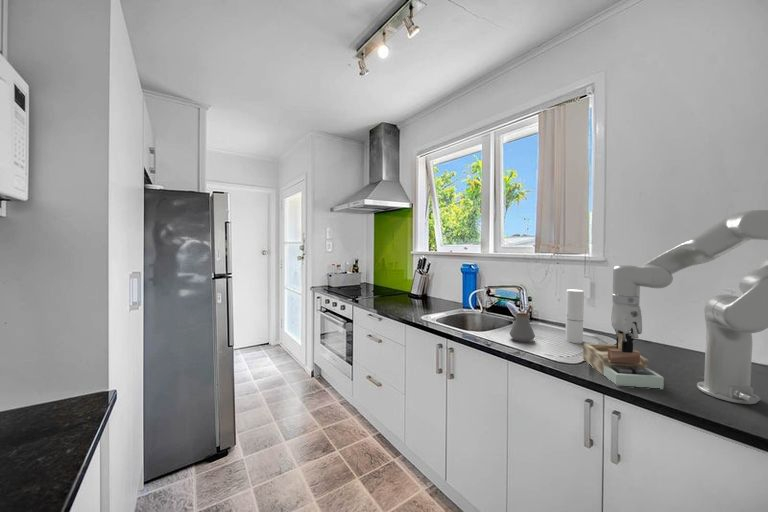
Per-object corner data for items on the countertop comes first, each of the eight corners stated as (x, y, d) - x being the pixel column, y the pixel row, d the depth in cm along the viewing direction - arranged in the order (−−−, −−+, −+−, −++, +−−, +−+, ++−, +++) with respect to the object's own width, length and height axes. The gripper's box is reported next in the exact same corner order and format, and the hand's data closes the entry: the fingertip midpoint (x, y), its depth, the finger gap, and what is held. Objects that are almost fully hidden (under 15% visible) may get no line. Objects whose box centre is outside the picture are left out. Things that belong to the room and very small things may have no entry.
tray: (663, 389, 98) (663, 377, 97) (615, 386, 100) (616, 374, 100) (647, 379, 105) (647, 367, 105) (603, 376, 107) (603, 365, 107)
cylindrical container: (577, 338, 149) (578, 289, 148) (585, 343, 142) (587, 291, 140) (562, 338, 149) (563, 289, 148) (570, 343, 142) (571, 291, 141)
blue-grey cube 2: (624, 376, 105) (631, 381, 101) (611, 375, 106) (618, 381, 102) (624, 365, 105) (632, 370, 101) (612, 364, 106) (619, 369, 102)
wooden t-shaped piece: (639, 363, 105) (640, 335, 105) (611, 361, 107) (612, 334, 106) (635, 360, 107) (636, 333, 107) (607, 359, 109) (608, 332, 108)
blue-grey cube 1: (641, 377, 104) (649, 383, 100) (628, 376, 105) (635, 382, 101) (641, 366, 104) (649, 371, 100) (628, 365, 105) (636, 370, 101)
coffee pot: (531, 345, 140) (531, 314, 139) (506, 340, 147) (506, 310, 146) (542, 334, 156) (543, 306, 155) (519, 330, 163) (520, 303, 162)
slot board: (647, 379, 105) (648, 359, 105) (603, 376, 107) (603, 357, 107) (621, 362, 120) (621, 345, 119) (583, 360, 122) (583, 343, 122)
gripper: (653, 304, 97) (652, 359, 98) (623, 296, 113) (622, 343, 114) (628, 304, 99) (626, 358, 99) (601, 295, 114) (600, 342, 115)
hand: (624, 350), depth 107 cm, fingers closed on wooden t-shaped piece, 2 cm apart
